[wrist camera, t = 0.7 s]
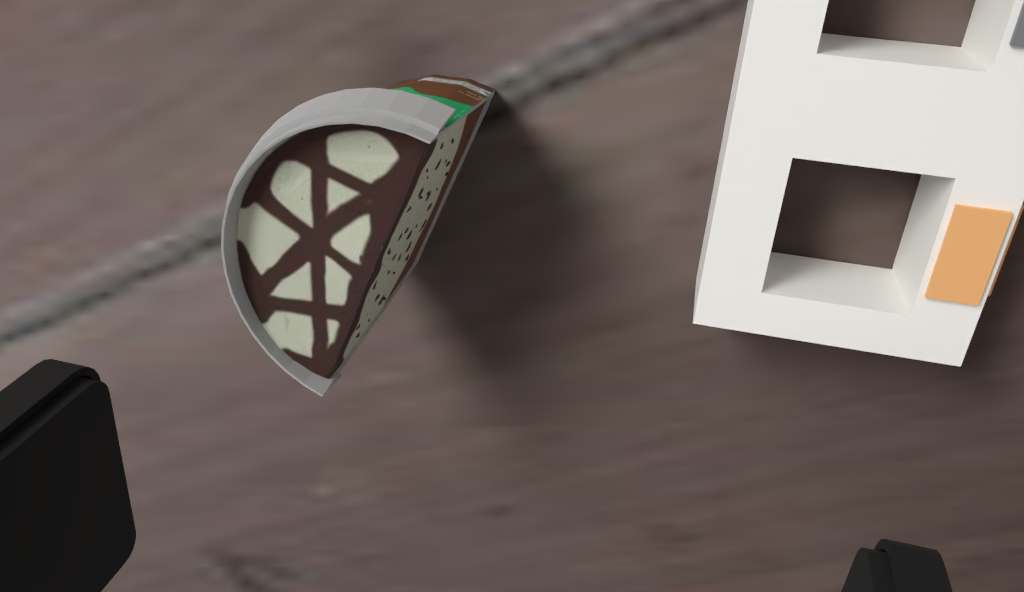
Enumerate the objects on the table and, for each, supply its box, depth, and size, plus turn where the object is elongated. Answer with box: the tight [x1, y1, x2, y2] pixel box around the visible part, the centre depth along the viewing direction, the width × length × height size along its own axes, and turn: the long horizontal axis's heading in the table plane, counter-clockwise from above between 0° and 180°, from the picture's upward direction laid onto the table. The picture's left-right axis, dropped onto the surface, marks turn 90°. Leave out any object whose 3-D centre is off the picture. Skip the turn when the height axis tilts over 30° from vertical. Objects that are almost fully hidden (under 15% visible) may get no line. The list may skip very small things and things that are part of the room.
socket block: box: [693, 0, 1024, 367], centre depth 30 cm, size 18×10×4 cm, turn 176°
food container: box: [221, 75, 496, 397], centre depth 33 cm, size 12×6×10 cm, turn 155°
